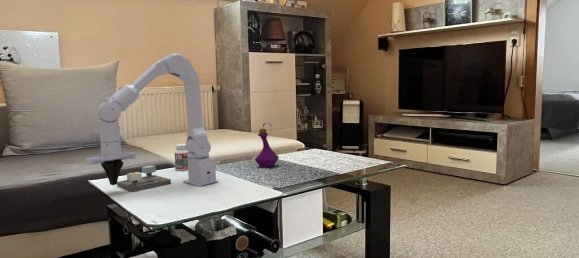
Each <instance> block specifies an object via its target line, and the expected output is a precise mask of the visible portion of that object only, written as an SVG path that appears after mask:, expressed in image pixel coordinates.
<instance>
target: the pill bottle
mask: <svg viewBox="0 0 579 258" xmlns="http://www.w3.org/2000/svg"><path fill="white" fill-rule="evenodd" d="M175 148H176V149H175V151H174V166H175V168H174V169H175V170H176V171H178V170H179V171H180V172H181V171H182V170H184V171H188V154H189V151H188V150H187V149H186V143H179V144H178V143H177V144H176V145H175ZM179 171H178V172H179ZM182 172H183V171H182Z"/></svg>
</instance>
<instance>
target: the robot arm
mask: <svg viewBox="0 0 579 258" xmlns="http://www.w3.org/2000/svg"><path fill="white" fill-rule="evenodd" d="M167 74H169V75H172V76H175V77H176V78H178V80H180V81H181V82H183V87H184V98H185V106H186V107H185V108H186V119H187V129H188V130H187V133H186V137H187V138H186V141H185V144H186V149H187V150H188V151H189V154H188V170H187V171H188V173H187V174H188V175H187V176H188V179H183V183H186V184H190V185H193V186H197V187H202V186H205V185H210V184H215V183H218V182H219V180H218V179H217V175H216V173H217V172H216V162H215V160H213V159H212V158H211V157H210V152H211V149H212V145H211V143H210V141H209V139H208V134H207V132H206V130H205V127H204V117H203V107H202V105H203V104H202V95H201V94H202V93H201V84H200V75H199V74H198V72H197V70H196V69H195V68H194V66H193V65H192V63H191V62H190V59H189V58H187V57H186V56H184V55H183V54H181V53H179V52H174V53H171V54H167V55H164V57H162V59H159V60H157V61H156V62H155V63H153V64H152V65H151V66H150V67H149V68H148V69H146V70H145V71H144V72H143V73H142V74H141V75H140V76H139V77H138V78H137V79H136V80H135V81H134V82H133V83H132V84H124V85H120V86H118V87H117V89H118V90H117V91H116V92H115V93H113V94H112V95H110V96H108V97H106V99H105V100H106V102H103V103H101V104H100V105H99V107H98V109H97V116H98V117H99V122H98V123H99V125H100V126H99V140H100V141H99V142H100V152H101V154H100V155H97V156H92V157H87V158H85V159H86V163H85V164H86V165H87V166H92V165H98V164H100V166H101V167H102V169H103V170H104V172H105V174H106V176H107V178H108V182H109V185H111V186H117V182H119V181H118V180H119V175H120V172H121V169H122V168H123V166H124V161H123V160H132V159H135V160H136V158H137V156H136V152H135V151H130V152H129V151H128V152H122V144H121V143H122V142H121V129H120V123H119V121H120V120H119V119H120V116H121V112H122V113H123V112H125V111H126V110H127V109H128V108H129V107H130V106H131V105H133V104H134V103H135V102H136V101H137V100H138V99H139V98H140V96H139V95H140V92H141V91H142V90H144V89H145V87H147V86H148V85H149V84H150V83H151V82H153V81H154V80H155V79H157V78H158V77H160V76H164V75H167Z"/></svg>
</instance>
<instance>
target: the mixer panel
mask: <svg viewBox="0 0 579 258" xmlns="http://www.w3.org/2000/svg"><path fill="white" fill-rule="evenodd" d="M171 180H172V179H170V178H166V177H164V176H159V175H157V174H156V175H155V174H152V176H146V175H145V176H142V179H140V180H138V183H134V184H132V181H129V180H127V179H124V180H121V181H117V185H116V187H118V188H120V189H124V190H127V191H129V192H138V191H143V190H147V189H148V190H149V189H151V188H157V187H162V186H167V185H171V184H172V181H171Z"/></svg>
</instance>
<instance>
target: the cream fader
mask: <svg viewBox="0 0 579 258" xmlns="http://www.w3.org/2000/svg"><path fill="white" fill-rule="evenodd" d="M142 174H143V173H142V172H139V171H135V172H129V173H126V180H129V181H132V184H134V183H138V180H140V179H142V177H143V175H142Z"/></svg>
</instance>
